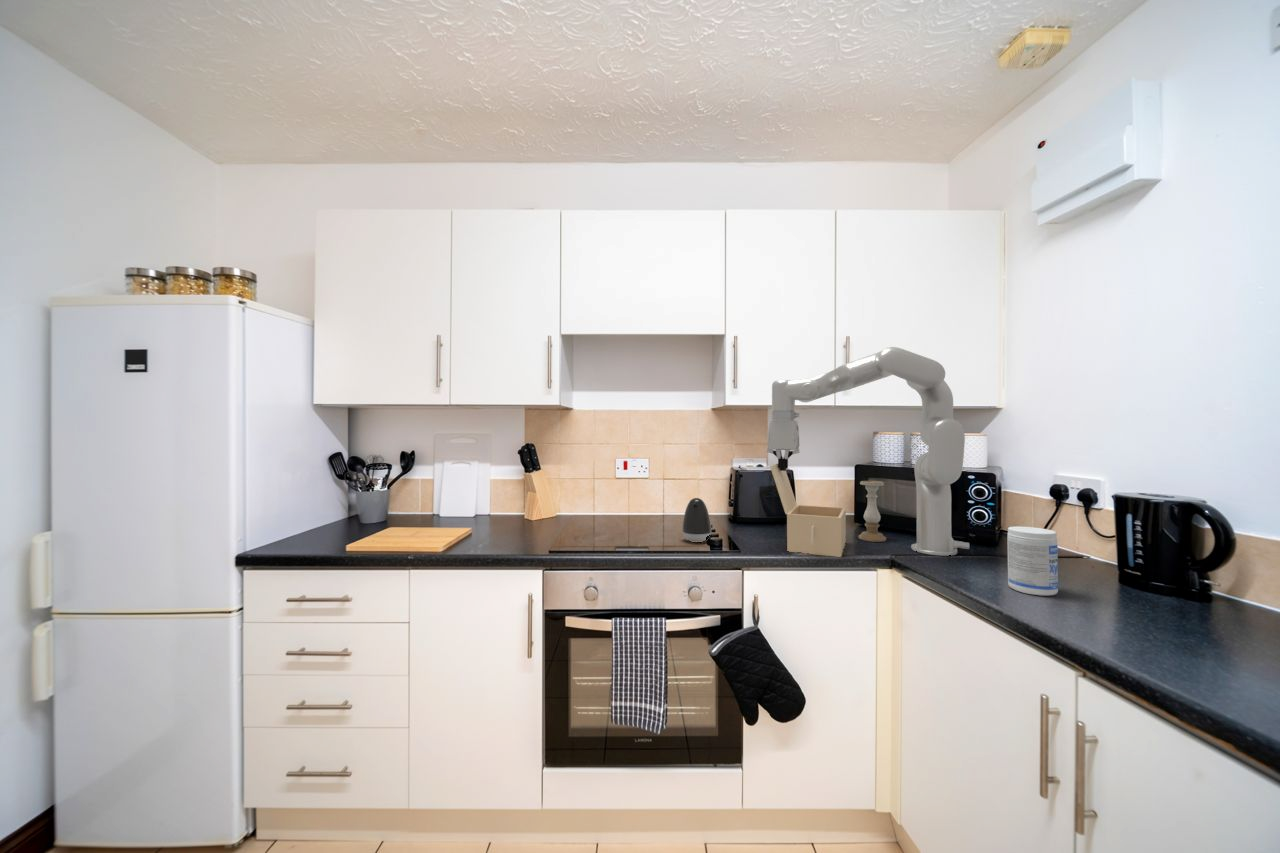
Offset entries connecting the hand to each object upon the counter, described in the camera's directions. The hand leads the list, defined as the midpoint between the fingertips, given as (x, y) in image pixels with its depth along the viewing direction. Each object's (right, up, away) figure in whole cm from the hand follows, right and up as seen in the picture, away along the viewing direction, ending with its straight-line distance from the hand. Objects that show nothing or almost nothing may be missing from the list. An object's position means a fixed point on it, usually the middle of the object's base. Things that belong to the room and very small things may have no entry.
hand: (782, 470), depth 168 cm
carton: (+9, -25, -7) cm, 27 cm away
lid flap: (+1, -5, 0) cm, 5 cm away
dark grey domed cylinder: (-29, -26, +4) cm, 39 cm away
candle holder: (+33, -25, +6) cm, 42 cm away
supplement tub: (+46, -25, -49) cm, 72 cm away
